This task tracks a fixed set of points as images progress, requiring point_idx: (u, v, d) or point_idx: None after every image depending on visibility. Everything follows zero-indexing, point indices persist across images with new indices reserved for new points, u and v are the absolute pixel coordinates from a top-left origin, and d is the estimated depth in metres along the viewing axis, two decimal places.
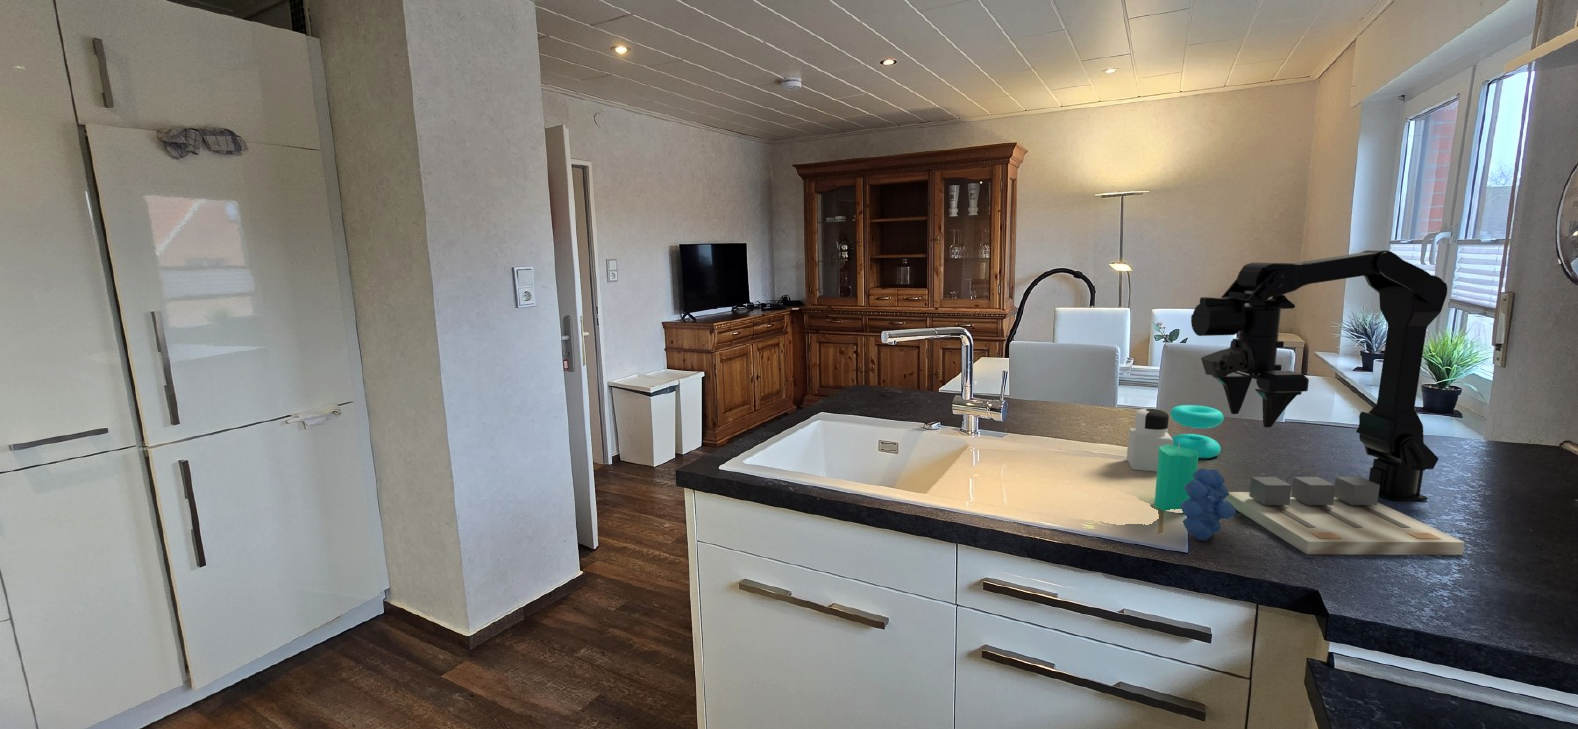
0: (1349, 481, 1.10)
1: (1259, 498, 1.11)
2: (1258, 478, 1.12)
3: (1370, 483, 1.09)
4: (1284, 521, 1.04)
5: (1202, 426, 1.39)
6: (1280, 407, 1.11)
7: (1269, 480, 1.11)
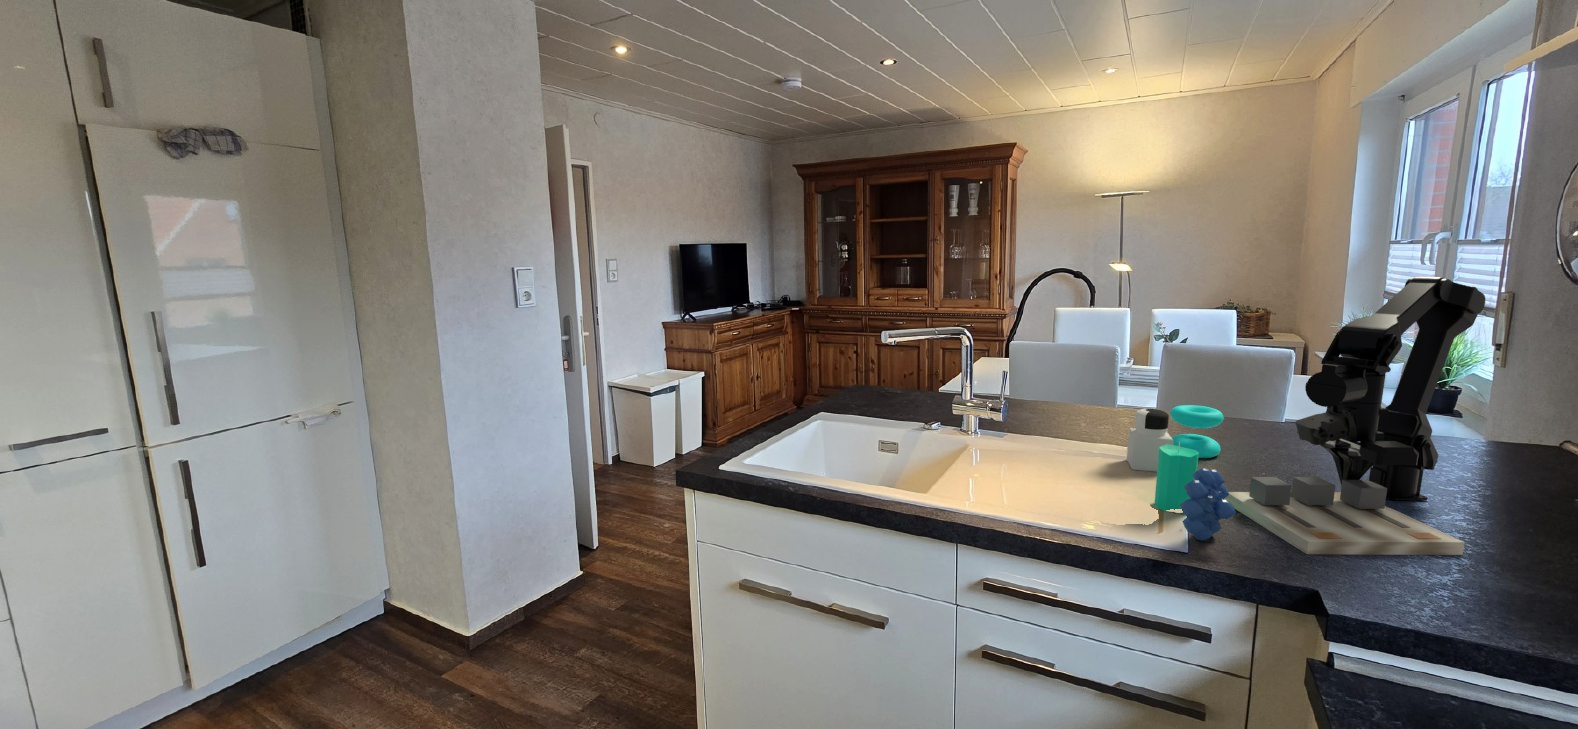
0: (1356, 484, 1.08)
1: (1259, 498, 1.11)
2: (1258, 478, 1.12)
3: (1377, 486, 1.07)
4: (1284, 521, 1.04)
5: (1202, 426, 1.39)
6: (1362, 470, 1.10)
7: (1269, 480, 1.11)
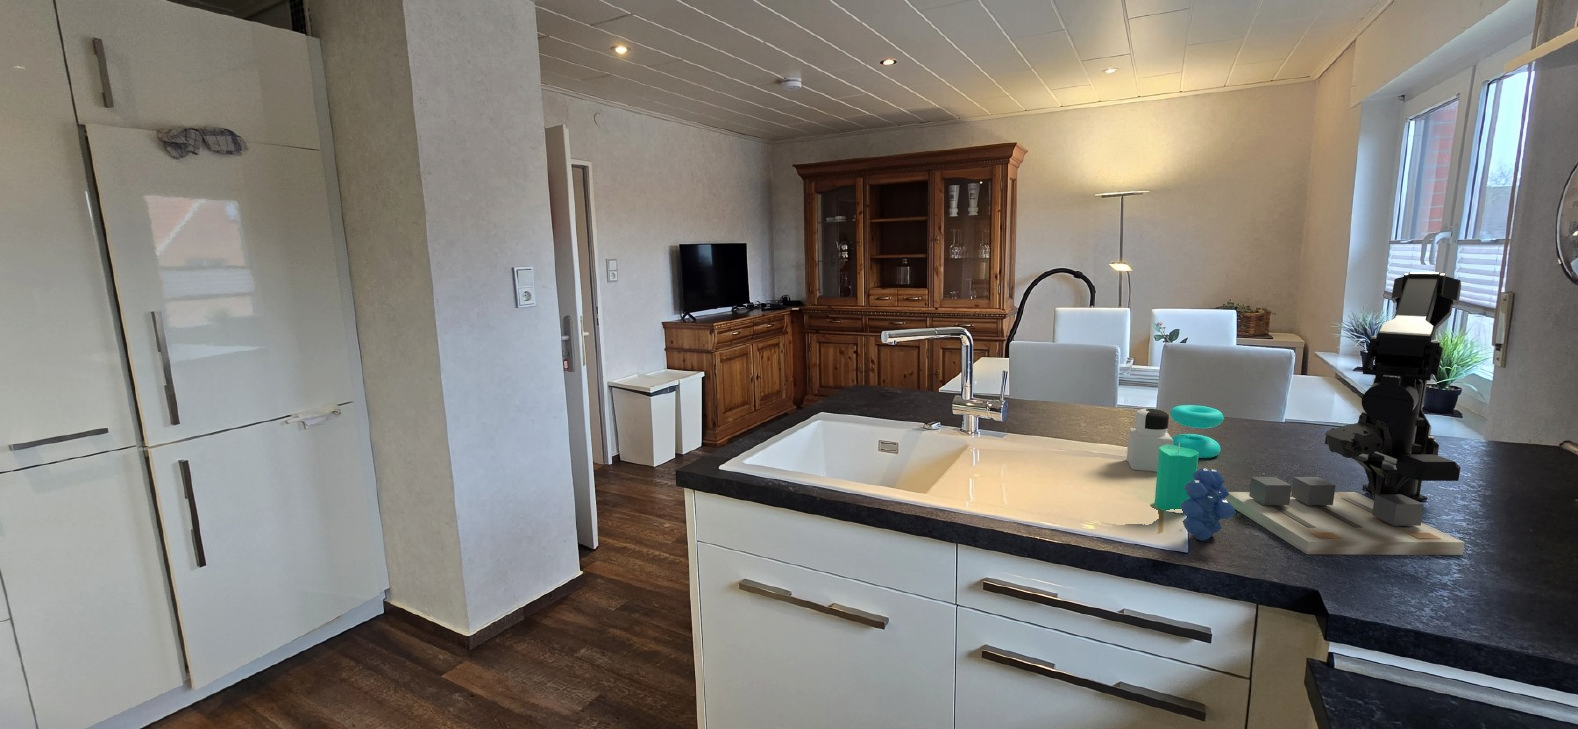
0: (1390, 500, 1.02)
1: (1259, 498, 1.11)
2: (1258, 478, 1.12)
3: (1413, 502, 1.01)
4: (1284, 521, 1.04)
5: (1202, 426, 1.39)
6: (1396, 484, 1.04)
7: (1269, 480, 1.11)
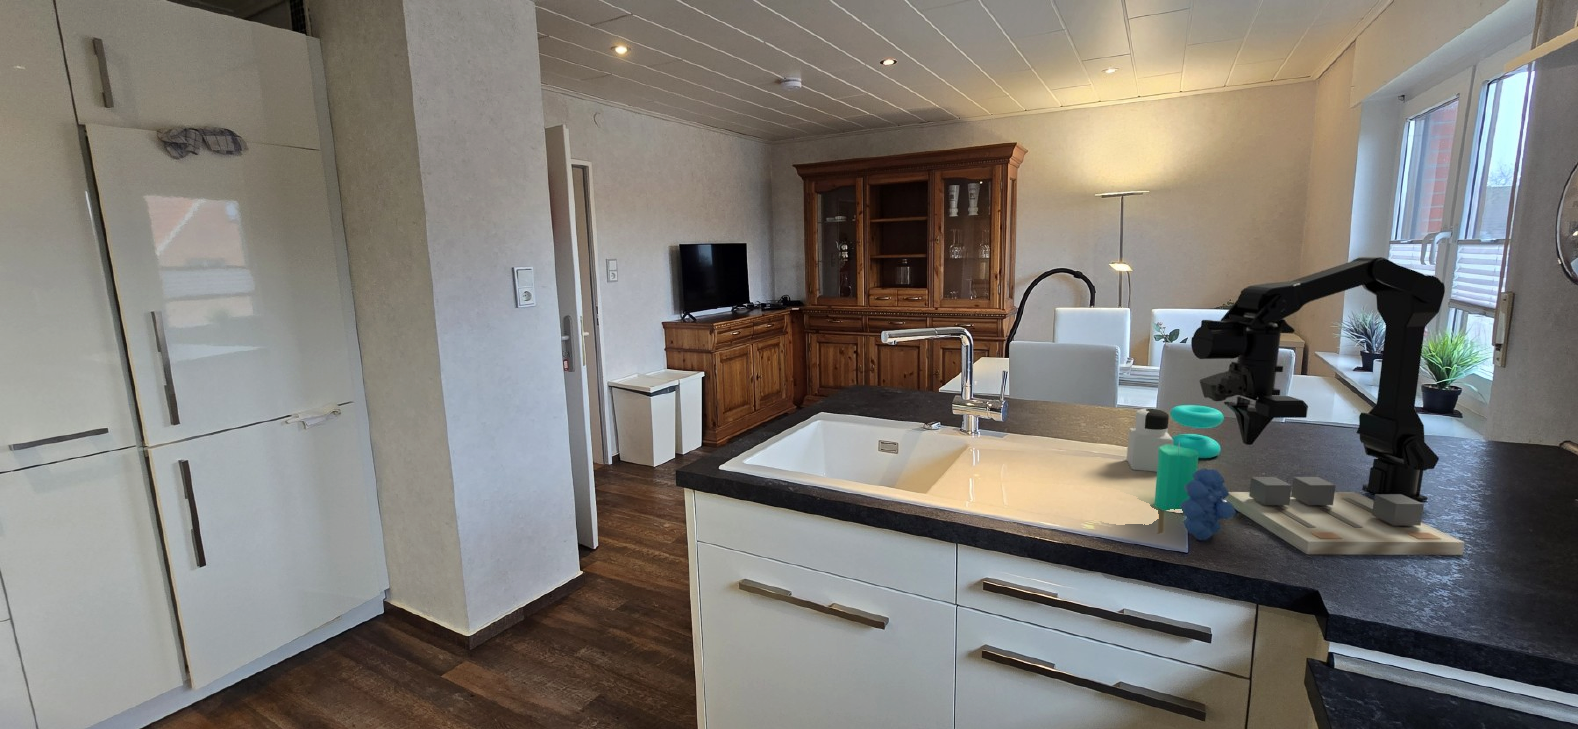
0: (1390, 500, 1.02)
1: (1259, 498, 1.11)
2: (1258, 478, 1.12)
3: (1413, 501, 1.01)
4: (1284, 521, 1.04)
5: (1202, 426, 1.39)
6: (1261, 425, 1.15)
7: (1269, 480, 1.11)
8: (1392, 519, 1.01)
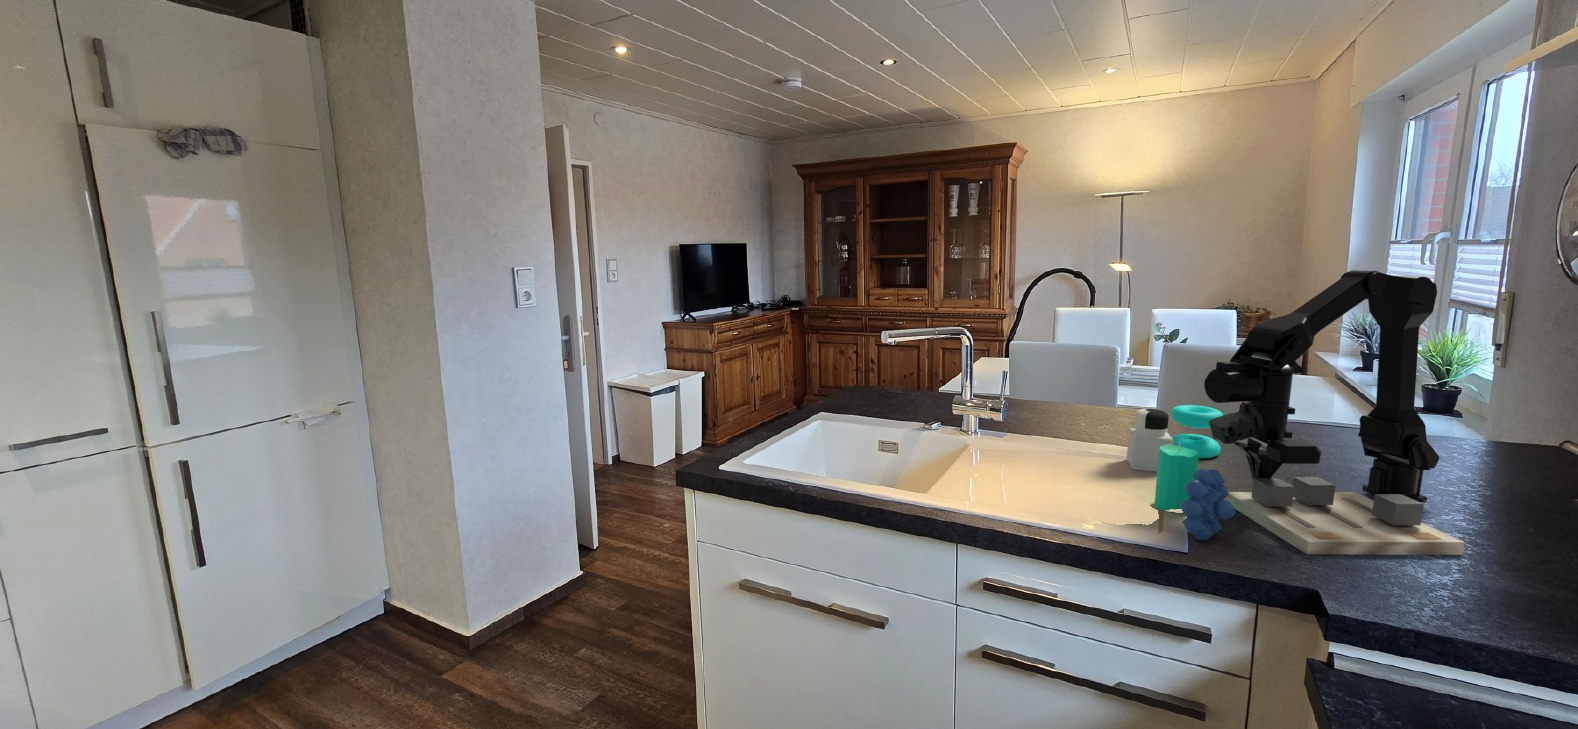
0: (1390, 500, 1.02)
1: (1261, 499, 1.10)
2: (1260, 479, 1.11)
3: (1413, 501, 1.01)
4: (1284, 521, 1.04)
5: (1202, 426, 1.39)
6: (1272, 468, 1.12)
7: (1271, 481, 1.11)
8: (1392, 519, 1.01)
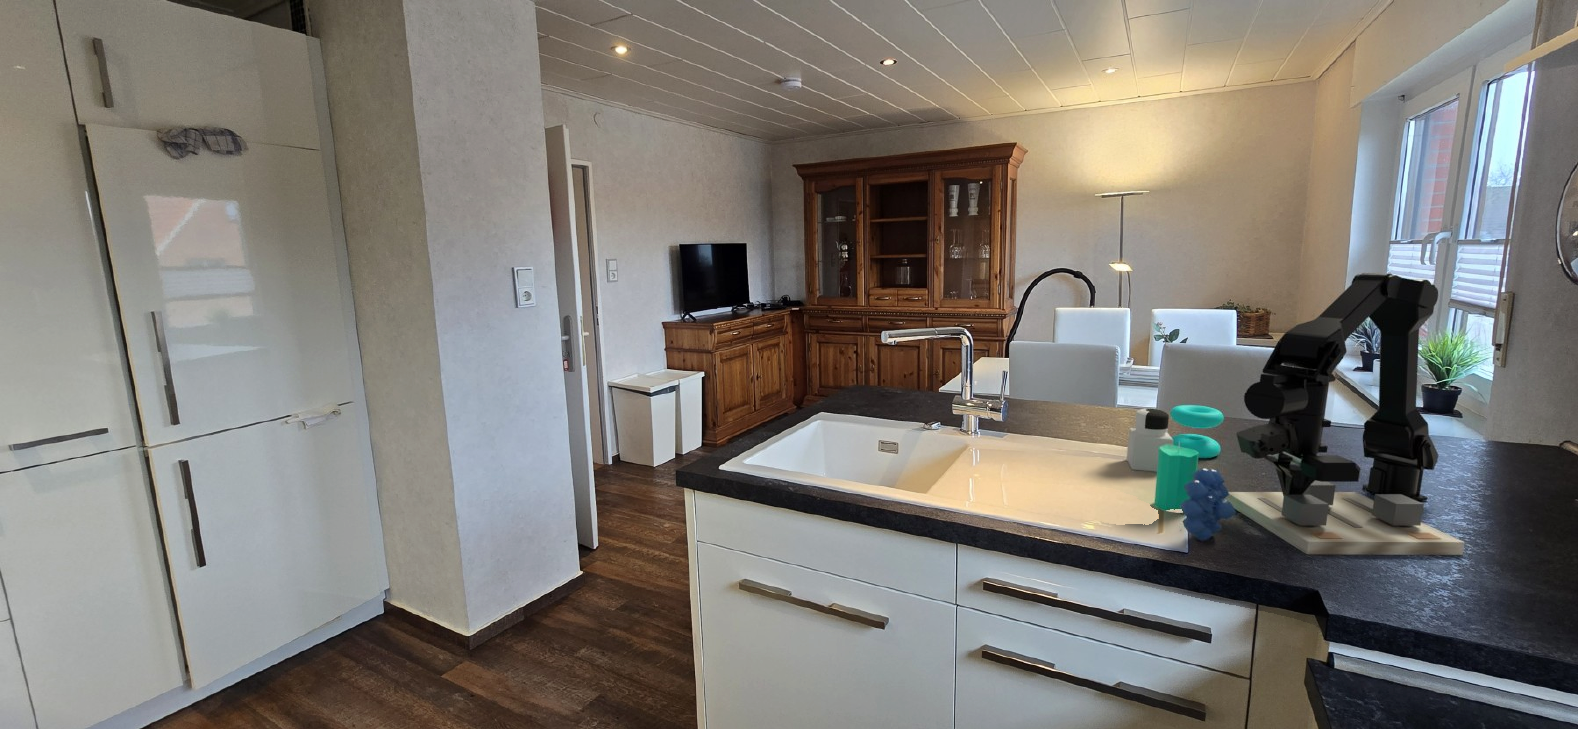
0: (1390, 500, 1.02)
1: (1293, 518, 1.03)
2: (1291, 496, 1.04)
3: (1413, 501, 1.01)
4: (1284, 521, 1.04)
5: (1202, 426, 1.39)
6: (1304, 484, 1.04)
7: (1304, 498, 1.03)
8: (1392, 519, 1.01)
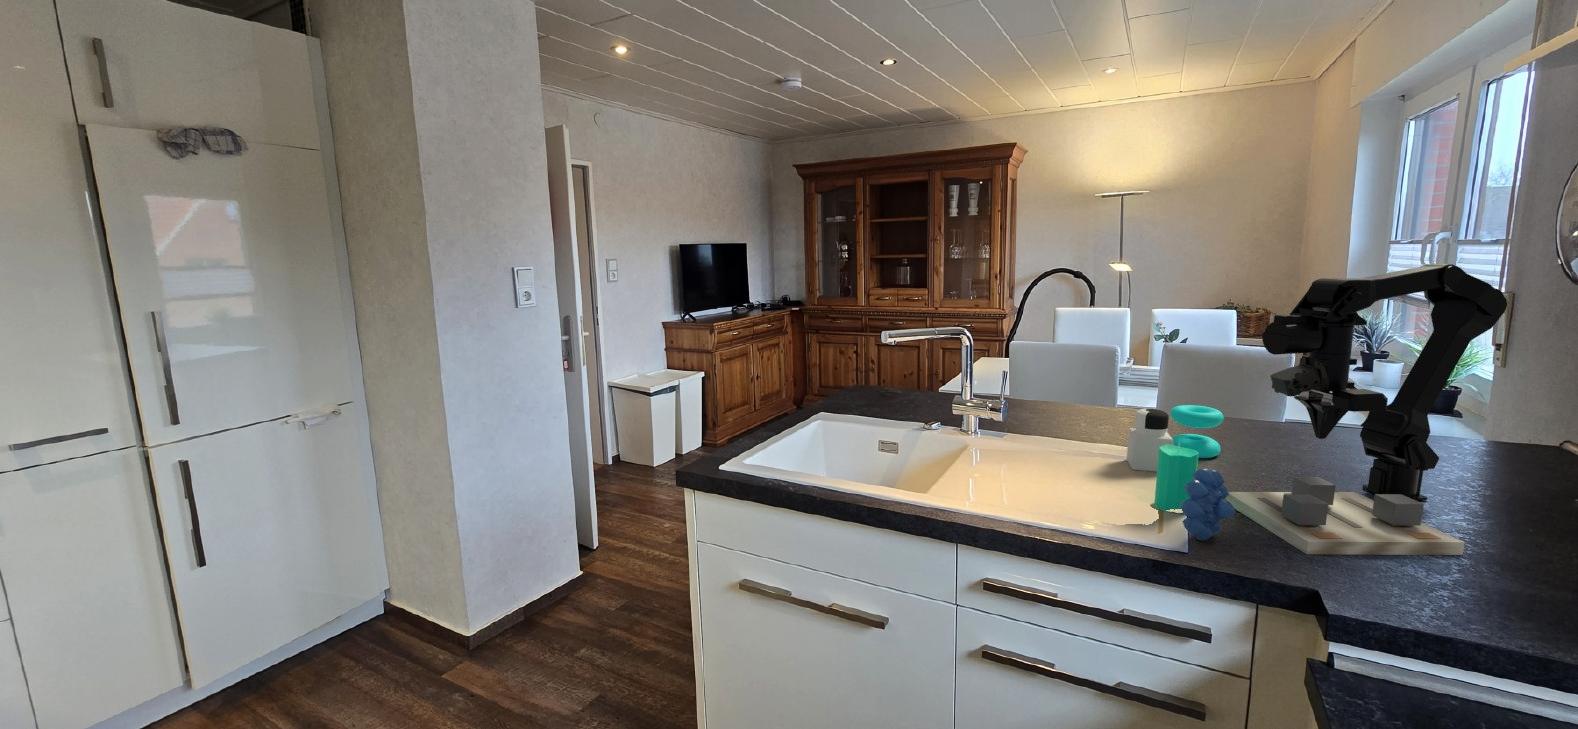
0: (1390, 500, 1.02)
1: (1293, 517, 1.03)
2: (1291, 496, 1.04)
3: (1413, 501, 1.01)
4: (1284, 521, 1.04)
5: (1202, 426, 1.39)
6: (1335, 419, 1.14)
7: (1303, 498, 1.03)
8: (1392, 519, 1.01)
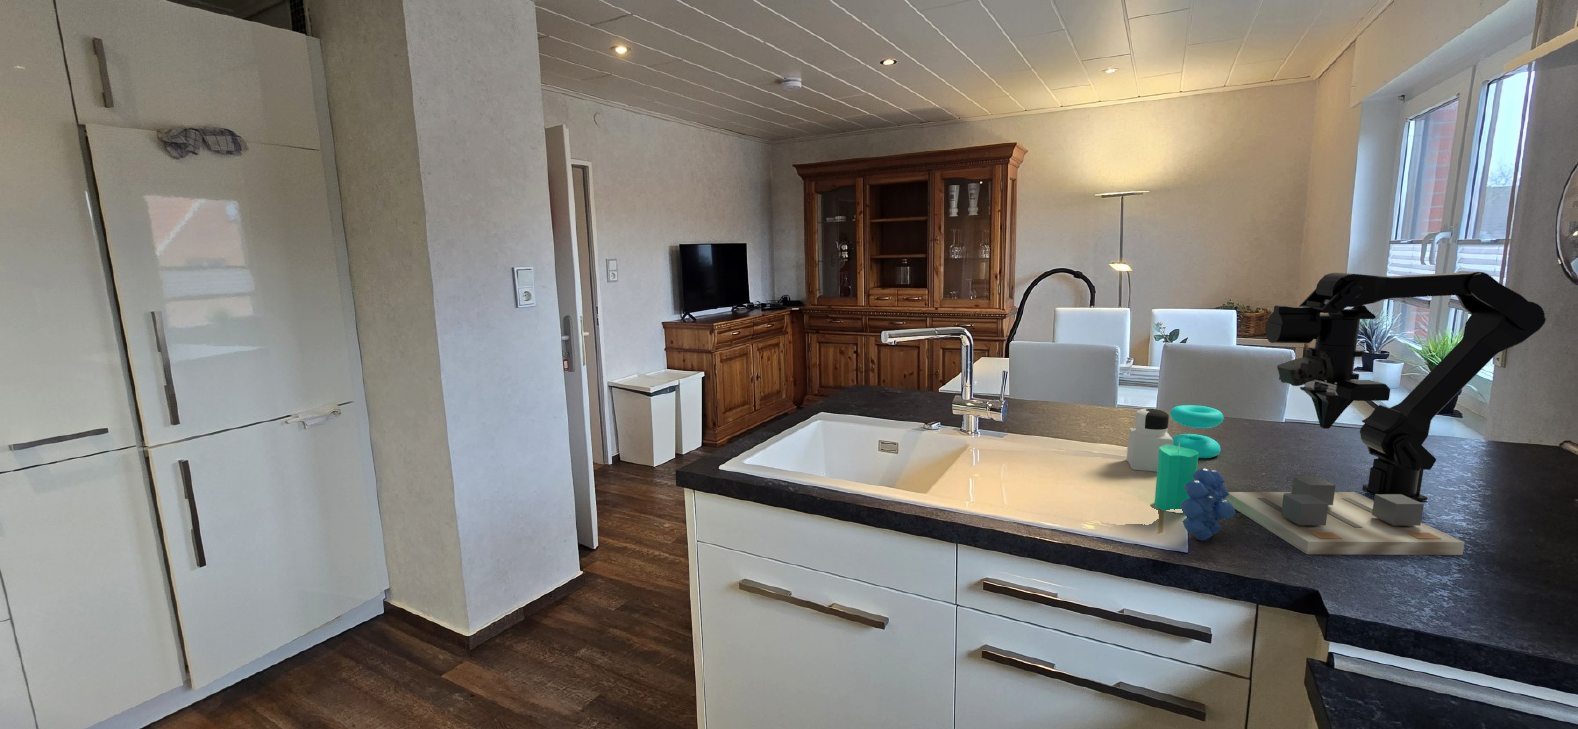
0: (1390, 500, 1.02)
1: (1293, 517, 1.03)
2: (1291, 496, 1.04)
3: (1413, 501, 1.01)
4: (1284, 521, 1.04)
5: (1202, 426, 1.39)
6: (1339, 409, 1.17)
7: (1303, 498, 1.03)
8: (1392, 519, 1.01)
